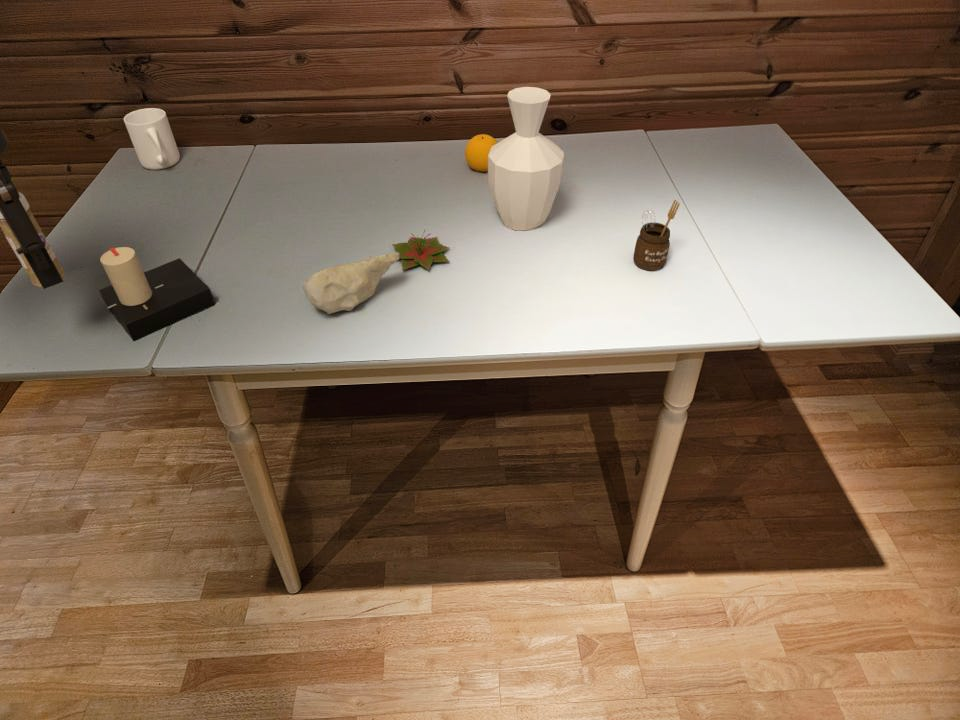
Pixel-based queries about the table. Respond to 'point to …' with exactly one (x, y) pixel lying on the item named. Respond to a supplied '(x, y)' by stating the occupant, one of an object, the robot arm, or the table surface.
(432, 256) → the lily flower
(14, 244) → the sprinkles bottle
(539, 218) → the vase
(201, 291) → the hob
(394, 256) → the chicken drumstick
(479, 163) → the orange fruit
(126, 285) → the hob knob
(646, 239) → the utensil holder
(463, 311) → the table surface
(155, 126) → the mug
